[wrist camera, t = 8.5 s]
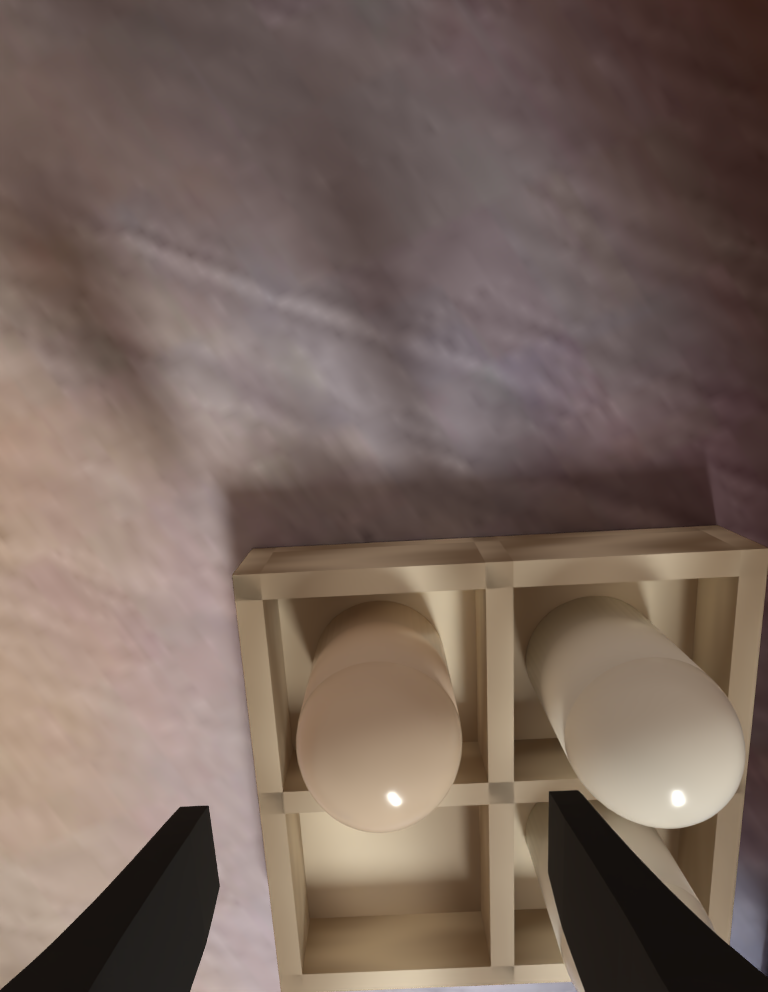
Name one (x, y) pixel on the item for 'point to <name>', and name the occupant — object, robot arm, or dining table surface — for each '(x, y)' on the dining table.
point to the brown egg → (379, 719)
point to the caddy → (472, 744)
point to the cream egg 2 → (639, 841)
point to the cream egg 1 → (635, 714)
